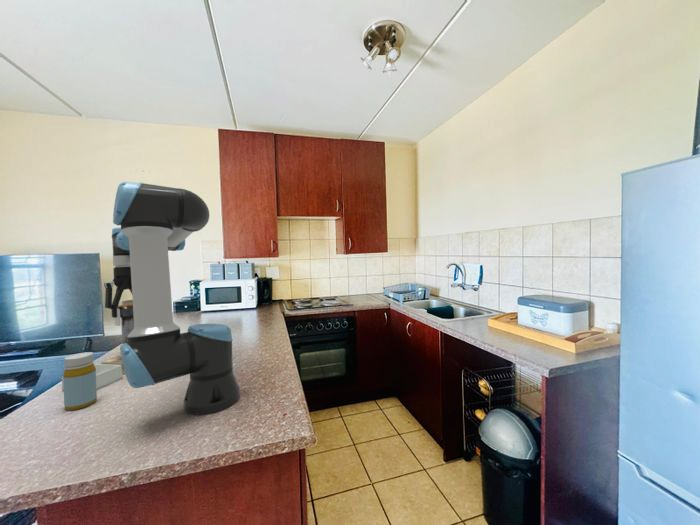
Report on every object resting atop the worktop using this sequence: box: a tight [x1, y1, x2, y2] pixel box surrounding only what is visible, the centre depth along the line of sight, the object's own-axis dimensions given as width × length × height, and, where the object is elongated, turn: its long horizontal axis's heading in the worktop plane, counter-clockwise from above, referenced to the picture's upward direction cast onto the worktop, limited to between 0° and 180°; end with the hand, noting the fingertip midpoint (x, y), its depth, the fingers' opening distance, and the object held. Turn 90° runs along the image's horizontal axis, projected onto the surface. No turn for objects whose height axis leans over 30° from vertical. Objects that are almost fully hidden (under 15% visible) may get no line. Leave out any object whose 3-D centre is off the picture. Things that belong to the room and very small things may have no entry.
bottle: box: [62, 351, 98, 411], centre depth 83 cm, size 7×7×15 cm
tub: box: [61, 363, 123, 392], centre depth 97 cm, size 11×11×5 cm
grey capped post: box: [117, 304, 134, 345], centre depth 112 cm, size 6×6×16 cm
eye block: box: [100, 355, 126, 375], centre depth 112 cm, size 12×12×4 cm
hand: (127, 323), depth 112 cm, fingers closed on grey capped post, 6 cm apart
